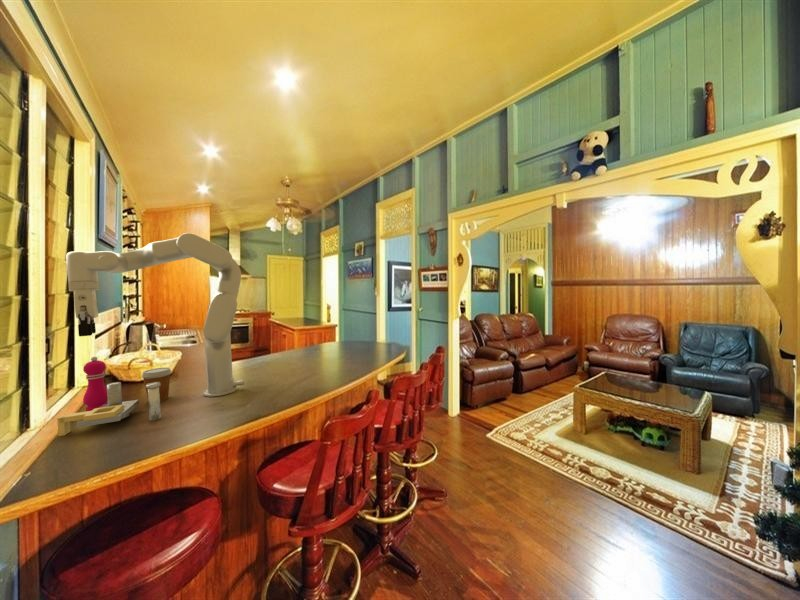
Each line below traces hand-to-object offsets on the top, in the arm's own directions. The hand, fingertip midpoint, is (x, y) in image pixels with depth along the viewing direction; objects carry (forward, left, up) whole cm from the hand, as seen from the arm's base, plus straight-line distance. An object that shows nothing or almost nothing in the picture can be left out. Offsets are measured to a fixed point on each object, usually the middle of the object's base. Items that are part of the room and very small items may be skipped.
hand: (87, 334), depth 112 cm
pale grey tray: (-10, +13, -29) cm, 33 cm away
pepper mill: (0, -4, -29) cm, 29 cm away
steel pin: (-23, +18, -29) cm, 41 cm away
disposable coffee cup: (-18, -6, -29) cm, 34 cm away
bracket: (-6, +18, -29) cm, 34 cm away
